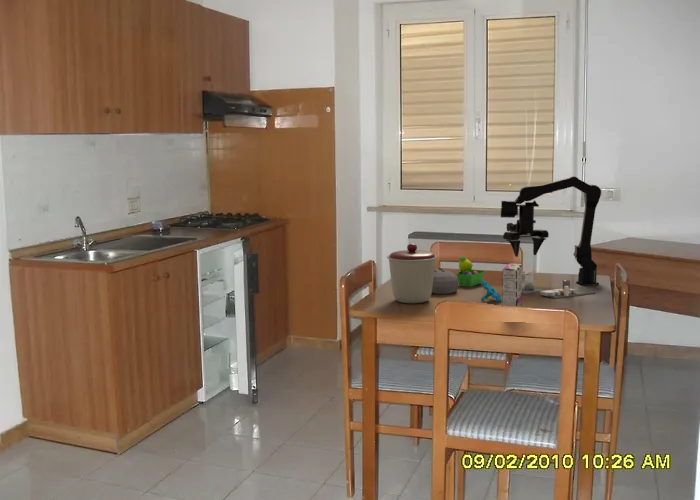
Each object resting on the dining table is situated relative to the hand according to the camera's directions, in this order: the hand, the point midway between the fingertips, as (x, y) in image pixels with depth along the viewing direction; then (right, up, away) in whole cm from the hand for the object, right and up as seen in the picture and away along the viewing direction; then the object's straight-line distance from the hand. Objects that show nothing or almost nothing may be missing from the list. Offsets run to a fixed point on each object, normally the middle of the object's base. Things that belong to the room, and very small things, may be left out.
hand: (525, 255), depth 295 cm
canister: (-49, -16, -30) cm, 60 cm away
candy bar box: (-18, -19, -54) cm, 60 cm away
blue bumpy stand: (-20, -16, -33) cm, 42 cm away
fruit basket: (-23, -12, 0) cm, 26 cm away
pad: (-4, -13, -13) cm, 19 cm away
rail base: (+10, -14, -22) cm, 28 cm away
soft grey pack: (-37, -14, -11) cm, 41 cm away
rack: (+6, -14, -25) cm, 29 cm away
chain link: (-4, -13, -13) cm, 19 cm away
